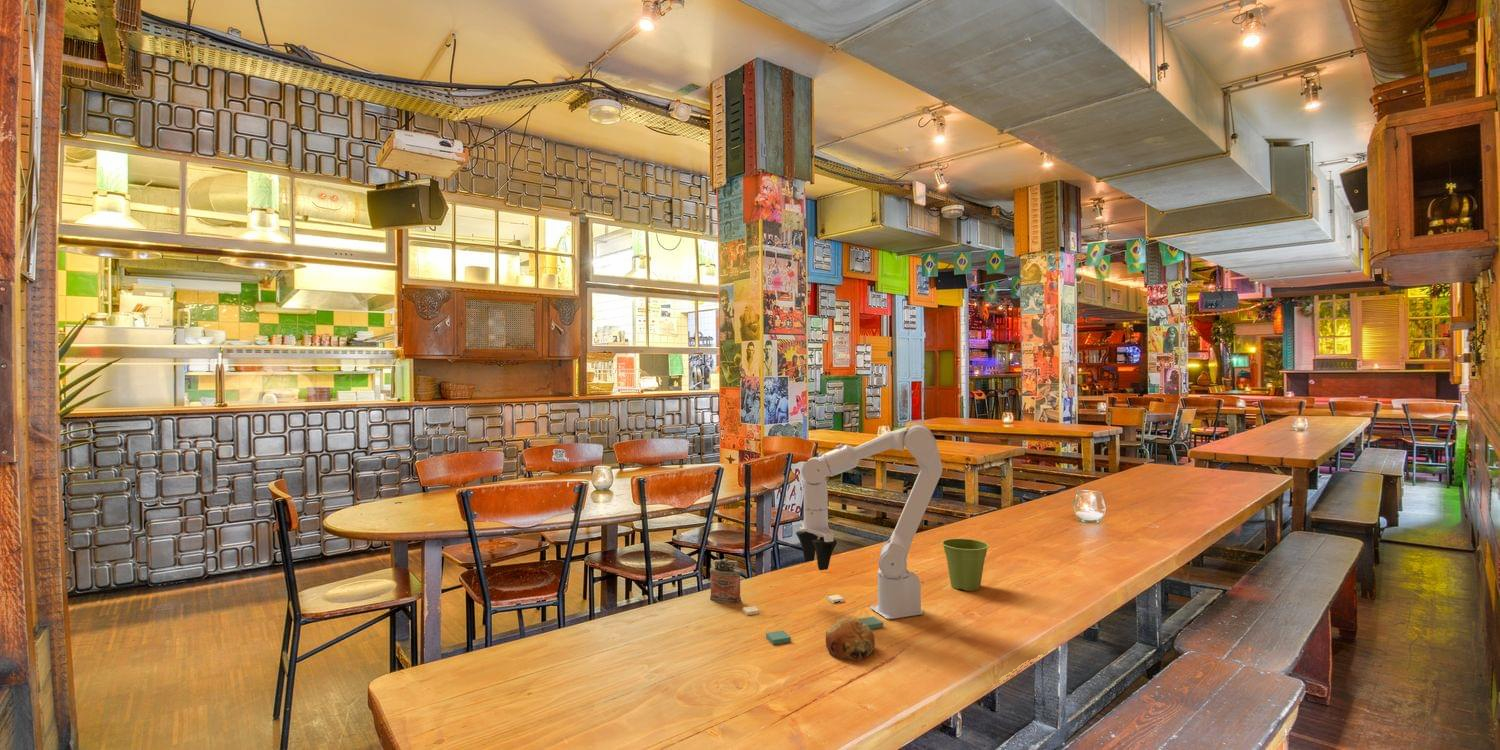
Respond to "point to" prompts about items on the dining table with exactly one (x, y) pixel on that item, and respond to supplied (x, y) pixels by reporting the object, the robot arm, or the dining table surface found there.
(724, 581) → the lighter
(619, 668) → the dining table surface
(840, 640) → the bread roll
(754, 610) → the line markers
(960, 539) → the plant pot
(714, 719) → the dining table surface
